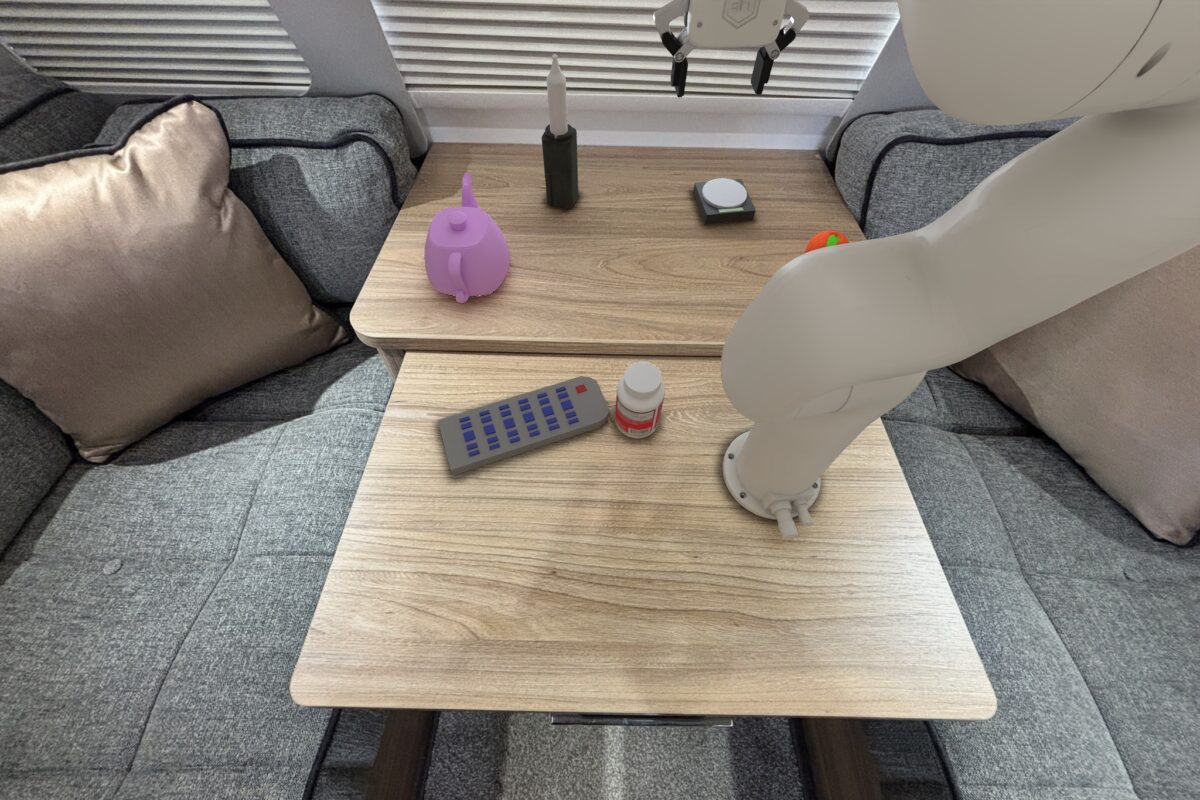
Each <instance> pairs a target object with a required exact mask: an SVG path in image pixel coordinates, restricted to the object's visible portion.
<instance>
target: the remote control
mask: <svg viewBox="0 0 1200 800" xmlns="http://www.w3.org/2000/svg"><path fill="white" fill-rule="evenodd" d="M610 411H611V410H610V407H609V405H608V403H607V401H606V399H605V397H604V394H603V391H602V390H601V387H600V385H599V383H598V381H597V380H596V379H594V378H592V377H590V376H583V375H580V376H577V377H574V378H570V379H566V380H564V381H561V382H557V383H555V384H551V385H548V386H544V387H541V388H538V389H534V390H532V391H528V392H525V393H522V394H518V395H515V396H512V397H509V398H504V399H502V400H499V401H495V402H492V403H489V404H485V405H482V406H479V407H476V408H473V409H469V410H466V411H463V412H459V413H456V414H453V415H450V416H446V417H444V418H440V419H437V422H438V427H439V431H440V435H441V439H442V442H443V446H444V450H445V455H446V457H447V462H448V466H449V469H450V472H451V474H452V475H453V476H457V475H459V474H462V473H465V472H468V471H471V470H474V469H478V468H480V467H483V466H486V465H489V464H492V463H495V462H499V461H501V460H505V459H508V458H511V457H514V456H517V455H519V454H523V453H526V452H529V451H532V450H535V449H538V448H542V447H545V446H548V445H550V444H553V443H556V442H559V441H562V440H566V439H568V438H571V437H575V436H578V435H581V434H583V433H587V432H591V431H593V430H596V429H599V428H601V427H602V426H603V425H604V424H606V423H607V422H608V419H609V417H610V413H611V412H610Z"/></svg>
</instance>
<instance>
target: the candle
mask: <svg viewBox="0 0 1200 800" xmlns="http://www.w3.org/2000/svg"><path fill="white" fill-rule="evenodd" d="M558 58H559V56H558V54H556V53H553V54H552V56H551V59H552V60H551V61H552V62H551V66H550V71H549V73H548V74H547V76H546V90H547V92H546V94H547V105H548V120H549V124H547V125H546V126H545V128H544V132H543V133H542V135H541V147H542V159H543V160H542V161H543V171H544V183H545V194H546V203H547V205H549V206H550V207H552V206H554V207H559V208H564V209H565V210H569V209H572V208H573V207H574V206H575V204H576V202H577V200H578V198H579V168H578V166H579V165H578V132H577V129H576V127H572V125H571V124H569V122H568V102H567V101H568V99H567V79H566V75H564V73H563V72H562V69H561V67H560V64H559V62H558Z"/></svg>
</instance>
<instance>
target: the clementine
mask: <svg viewBox="0 0 1200 800" xmlns="http://www.w3.org/2000/svg"><path fill="white" fill-rule="evenodd" d="M845 243H850V241H849V239H848V238H847V237H846V236H845V234H843V233H841V232H839V231H836V230H824V231H821V232H819V233H817V234H815V235H814V236H812V238H811V239H810V240H809V241H808V243H807V244H806V248H805V251H804V254H805V253H807V252H810V251H813V250H816V249H820V248H824V247H828V246H834V245H839V244H845Z"/></svg>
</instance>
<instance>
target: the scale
mask: <svg viewBox="0 0 1200 800" xmlns="http://www.w3.org/2000/svg"><path fill="white" fill-rule="evenodd" d="M692 194H693V197H694V200H695V203H696V206H697V208H698V210H699V213H700V216H701V219H702V222H703V224H704V226H707V225H719V224H727V223H728V224H729V223H740V222H750V221H753V220H754V218H755V215H756V211H757V210H756V208H755V205H754V202H753V201H752V199H751V197H750V194H749V192H748V190H747V188H746V185H745V184H744V181H743V179H742V178H734V179H731V178H725V177H718V178H713V179H711V180H709V181H698V182H694V184H693V190H692Z"/></svg>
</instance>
